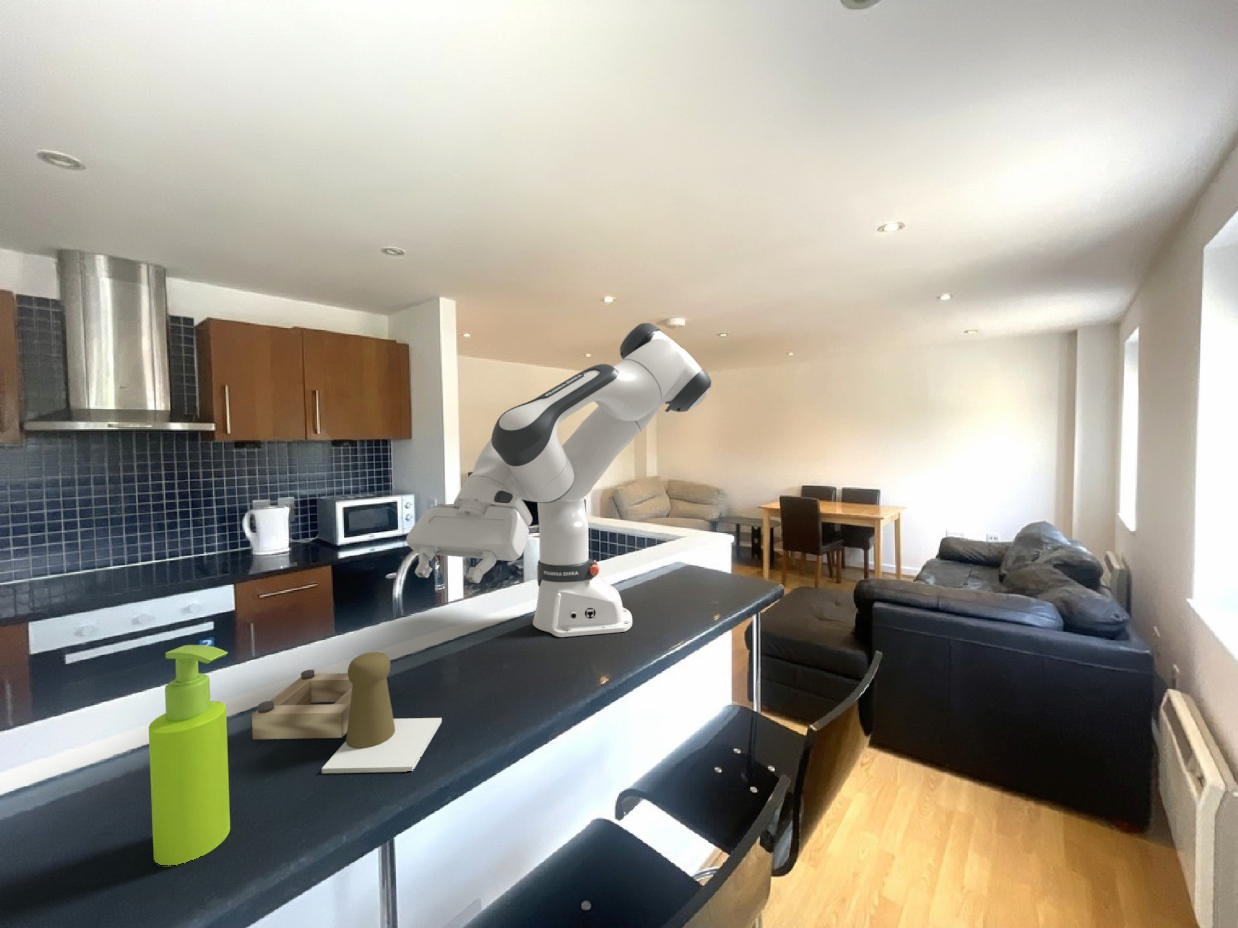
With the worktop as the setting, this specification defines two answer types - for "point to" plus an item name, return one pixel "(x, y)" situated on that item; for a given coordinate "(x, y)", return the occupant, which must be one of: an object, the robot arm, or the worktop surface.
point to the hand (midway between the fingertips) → (445, 578)
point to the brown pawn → (369, 701)
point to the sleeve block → (306, 709)
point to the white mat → (387, 750)
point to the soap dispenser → (189, 763)
